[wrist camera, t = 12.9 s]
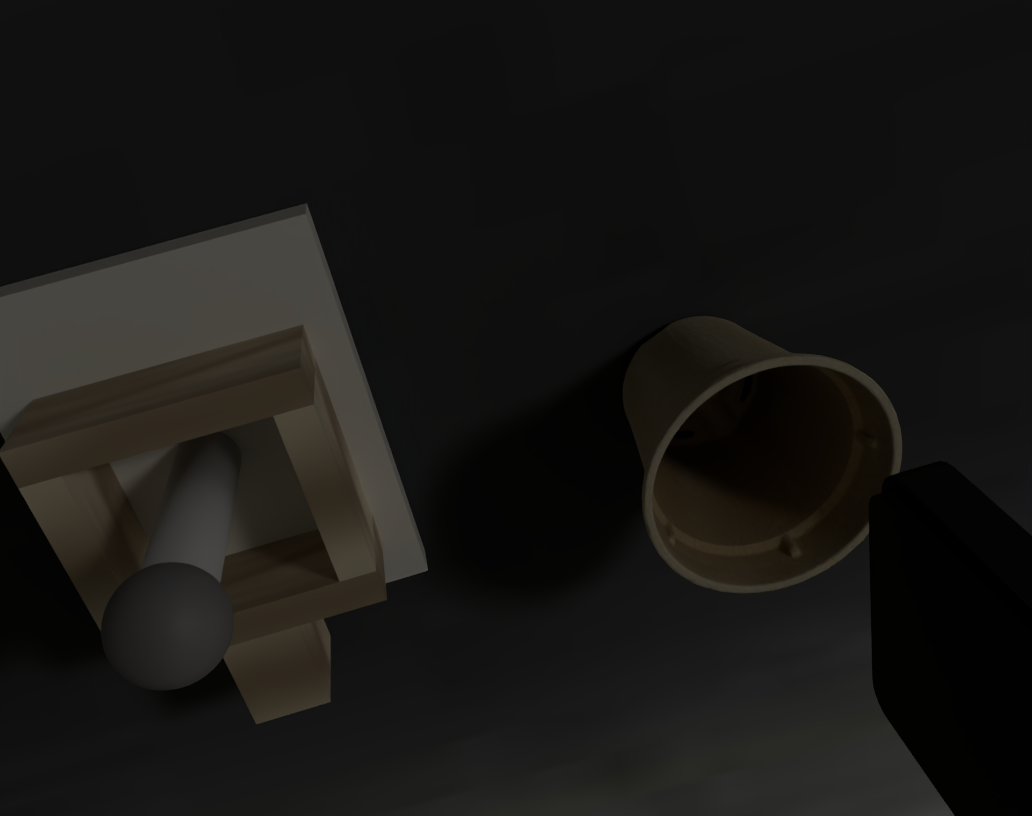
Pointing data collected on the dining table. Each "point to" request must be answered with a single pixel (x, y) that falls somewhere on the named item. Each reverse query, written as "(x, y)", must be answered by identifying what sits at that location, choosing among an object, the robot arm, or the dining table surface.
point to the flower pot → (754, 455)
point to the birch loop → (247, 574)
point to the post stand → (214, 457)
